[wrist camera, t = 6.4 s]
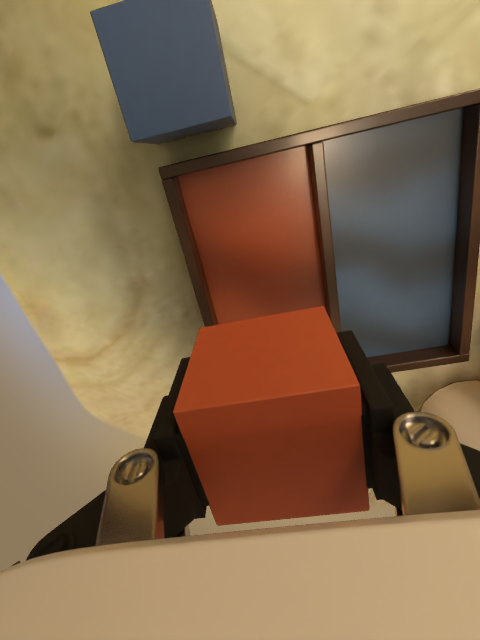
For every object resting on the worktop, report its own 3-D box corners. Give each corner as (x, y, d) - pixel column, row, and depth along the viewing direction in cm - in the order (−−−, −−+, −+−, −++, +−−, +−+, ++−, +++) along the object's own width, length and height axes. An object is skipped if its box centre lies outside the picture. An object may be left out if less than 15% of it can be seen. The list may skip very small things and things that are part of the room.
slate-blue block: (128, 44, 17) (89, 10, 13) (216, 18, 16) (203, -26, 12) (157, 144, 19) (131, 142, 15) (237, 124, 18) (231, 116, 14)
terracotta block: (199, 327, 12) (171, 412, 8) (323, 305, 12) (360, 384, 8) (227, 420, 14) (216, 526, 10) (335, 405, 14) (370, 511, 10)
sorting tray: (166, 166, 19) (157, 167, 17) (470, 91, 17) (495, 84, 15) (227, 380, 26) (225, 397, 24) (452, 345, 24) (469, 361, 22)
